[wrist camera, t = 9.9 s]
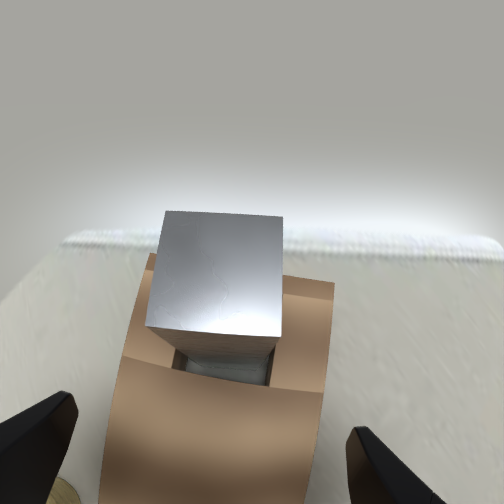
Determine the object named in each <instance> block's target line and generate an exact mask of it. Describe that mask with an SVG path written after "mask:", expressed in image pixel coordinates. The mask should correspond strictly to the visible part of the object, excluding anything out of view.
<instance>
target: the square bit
mask: <svg viewBox="0 0 504 504" xmlns="http://www.w3.org/2000/svg"><path fill="white" fill-rule="evenodd" d="M282 272H283V217H278V216H262V215H246V214H245V215H244V214H228V213H208V212H186V211H166V212H165V217H164V221H163V226H162V231H161V235H160V240H159V245H158V250H157V256H156V261H155V266H154V272H153V278H152V283H151V289H150V295H149V302H148V308H147V315H146V322H145V326H146V327H147V328H148V329H150V330H151V331H152V332H154V333H155V334H156V335H158V336H159V337H160V338H162V339H163V340H165V341H166V342H167V343H169V344H170V345H172V346H173V347H174V348H176V349H177V350H179V351H180V352H181V353H183V354H184V355H186V356H187V357H189V358H190V359H192V360H193V361H194V362H196V363H197V364H199V365H200V366H203V367H214V368H227V369H242V370H258V369H259V367H260V366H261V365H262V363H263V362H264V360H265V359H266V358H267V356H268V355H269V353H270V352H271V351H272V349H273V348H274V346H275V345H276V343H277V342H278V340H279V339H280V338H281V323H282Z"/></svg>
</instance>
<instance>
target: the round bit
mask: <svg viewBox="0 0 504 504" xmlns="http://www.w3.org/2000/svg"><path fill="white" fill-rule="evenodd" d="M46 504H80V500H79V497H78V495H77V493H76V491H75V490H74V489H73V488H72V486H71V485H70V484H68V483H67V482H66V481H65V480H63V479H61V478H59V477H56V479H55V482H54V484H53V487H52V489H51V492H50V494H49V497H48V500H47V502H46Z"/></svg>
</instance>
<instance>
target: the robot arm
mask: <svg viewBox="0 0 504 504" xmlns="http://www.w3.org/2000/svg"><path fill="white" fill-rule="evenodd" d="M77 418H78V408H77V405H76V403H75V400H74V397H73V395H72V394H71V393H68V392H65V391H59V392H57V393H55V394H53V395H52V396H50V397H48V398H46V399H44V400H43V401H41V402H39V403H37V404H35V405H33V406H32V407H30V408H28V409H26V410H24V411H22V412H21V413H19V414H17V415H15V416H13V417H11V418H10V419H8V420H6V421H4V422H2V423H0V504H46V502H47V500H48V497H49V494H50V492H51V489H52V487H53V484H54V482H55V479H56V477H57V474H58V472H59V469H60V467H61V465H62V462H63V460H64V458H65V455H66V453H67V450H68V447H69V444H70V440H71V437H72V434H73V431H74V427H75V424H76V421H77ZM346 460H347V475H348V488H349V494H350V499H351V504H447V503H445V502H444V501H443V500H442V499H441V498H440V497H439V496H438V495H437V494H435V493H433V491H432V490H431V489H430V488H429V487H428V486H427V485H426V484H425V483H424V482H423V481H422V480H421V479H420V478H419V477H417V476H416V475H415V474H414V473H413V472H412V471H411V470H410V469H409V468H408V467H407V466H406V465H405V464H404V463H403V462H402V461H401V460H400V459H399V458H398V457H397V456H396V455H395V454H394V453H393V452H392V451H391V450H390V449H389V448H388V447H387V446H386V445H385V444H384V443H383V442H382V441H381V440H380V439H379V438H378V437H377V436H376V435H375V434H374V433H373V432H372V431H371V430H370V429H369V428H368V427H366V426H358V427H354V428H353V429H352V431H351V433H350V436H349V438H348V440H347V442H346Z"/></svg>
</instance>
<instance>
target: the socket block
mask: <svg viewBox="0 0 504 504" xmlns="http://www.w3.org/2000/svg"><path fill="white" fill-rule="evenodd" d="M156 256H157V254H154V253H150V255H149V258H148V261H147V264H146V268H145V271H144V274H143V278H142V281H141V284H140V288H139V291H138V295H137V298H136V302H135V306H134V309H133V313H132V317H131V321H130V324H129V328H128V332H127V336H126V340H125V344H124V349H123V353H122V357H121V362H120V366H119V371H118V375H117V380H116V385H115V390H114V395H113V400H112V405H111V411H110V416H109V422H108V428H107V434H106V441H105V448H104V455H103V462H102V470H101V479H100V489H99V499H98V504H304V500H305V495H306V491H307V486H308V481H309V477H310V472H311V467H312V461H313V456H314V451H315V445H316V439H317V433H318V427H319V421H320V415H321V408H322V401H323V394H324V387H325V379H326V371H327V363H328V354H329V344H330V334H331V324H332V312H333V299H334V284H335V283H332V282H325V281H318V280H312V279H305V278H299V277H293V276H286V275H282V323H281V338H280V339H279V340H278V342H277V343H276V345H275V346H274V348H273V349H272V351H271V352H270V353H269V360H268V366H267V372H266V379H265V385H264V386H260V385H254V384H247V383H241V382H235V381H230V380H224V379H219V378H214V377H209V376H204V375H199V374H194V373H190V372H185V368H186V363H187V358H188V357H187V356H186V355H184V354H183V353H181V352H180V351H179V350H177V349H176V348H174V347H173V346H172V345H170V344H169V343H167V342H166V341H165V340H163V339H162V338H160V337H159V336H158V335H156V334H155V333H154V332H152V331H151V330H150V329H148V328H147V327H146V326H145V322H146V315H147V308H148V302H149V295H150V289H151V283H152V278H153V272H154V266H155V261H156Z"/></svg>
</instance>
